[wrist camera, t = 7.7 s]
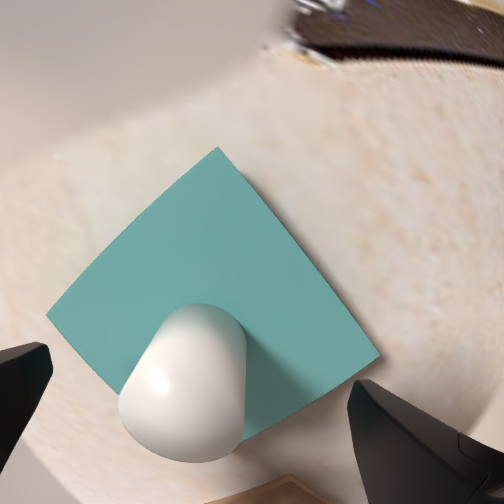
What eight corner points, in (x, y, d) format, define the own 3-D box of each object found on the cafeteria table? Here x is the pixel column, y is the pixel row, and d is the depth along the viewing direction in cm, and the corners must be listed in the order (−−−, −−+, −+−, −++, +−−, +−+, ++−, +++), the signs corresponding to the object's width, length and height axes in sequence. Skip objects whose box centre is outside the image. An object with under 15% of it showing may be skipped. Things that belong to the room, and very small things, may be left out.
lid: (223, 153, 11) (192, 117, 5) (363, 331, 12) (427, 424, 6) (69, 298, 12) (-18, 361, 6) (204, 432, 13) (187, 531, 8)
